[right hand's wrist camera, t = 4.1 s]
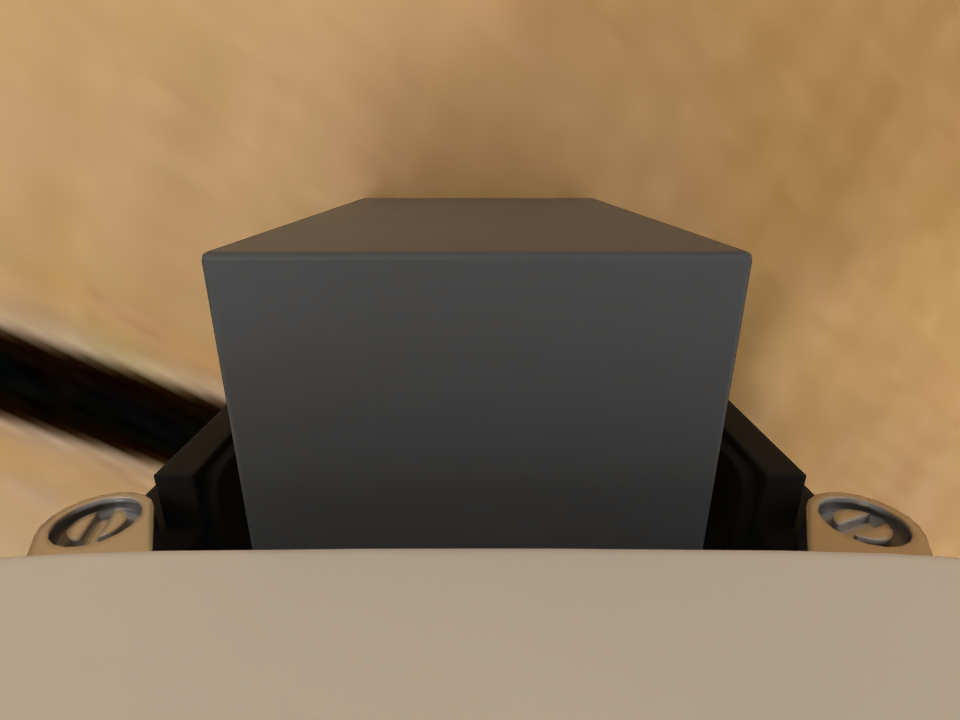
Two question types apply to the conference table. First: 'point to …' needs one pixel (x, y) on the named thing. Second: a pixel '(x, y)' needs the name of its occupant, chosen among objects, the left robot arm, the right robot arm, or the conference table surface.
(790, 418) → the conference table surface
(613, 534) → the beam
